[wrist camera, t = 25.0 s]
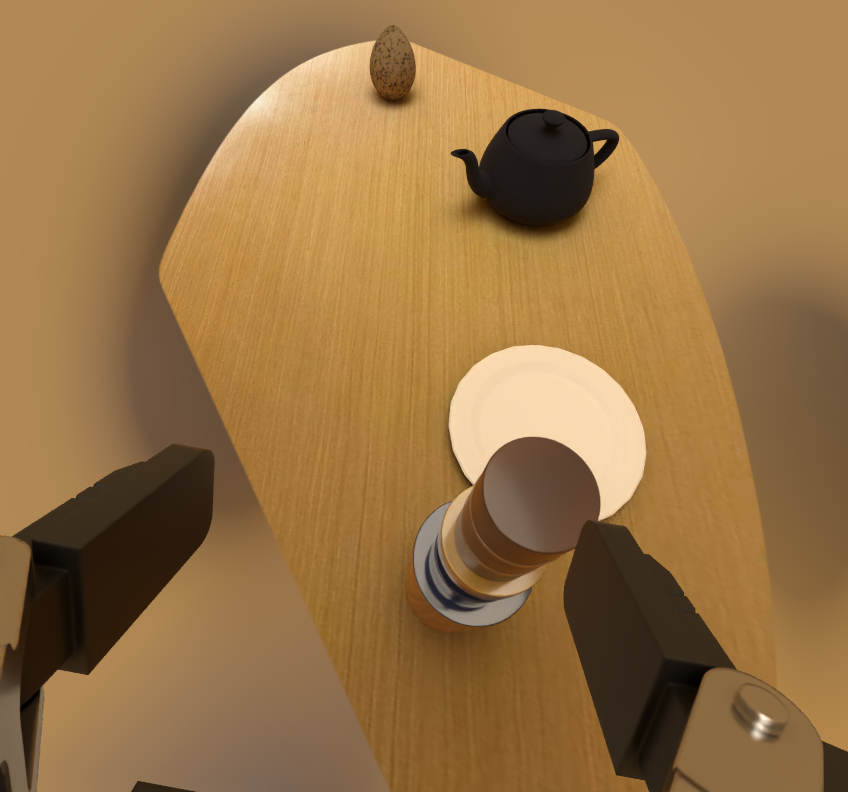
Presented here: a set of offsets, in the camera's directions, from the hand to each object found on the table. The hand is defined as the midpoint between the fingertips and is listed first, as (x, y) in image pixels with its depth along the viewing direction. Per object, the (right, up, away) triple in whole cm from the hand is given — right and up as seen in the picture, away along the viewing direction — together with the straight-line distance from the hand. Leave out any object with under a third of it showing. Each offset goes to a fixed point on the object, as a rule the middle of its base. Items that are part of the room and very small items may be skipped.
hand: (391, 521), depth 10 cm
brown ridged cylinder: (+4, -5, +14) cm, 15 cm away
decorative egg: (-5, +52, +67) cm, 85 cm away
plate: (+13, -1, +40) cm, 43 cm away
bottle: (+3, -14, +33) cm, 36 cm away
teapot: (+15, +31, +58) cm, 67 cm away
